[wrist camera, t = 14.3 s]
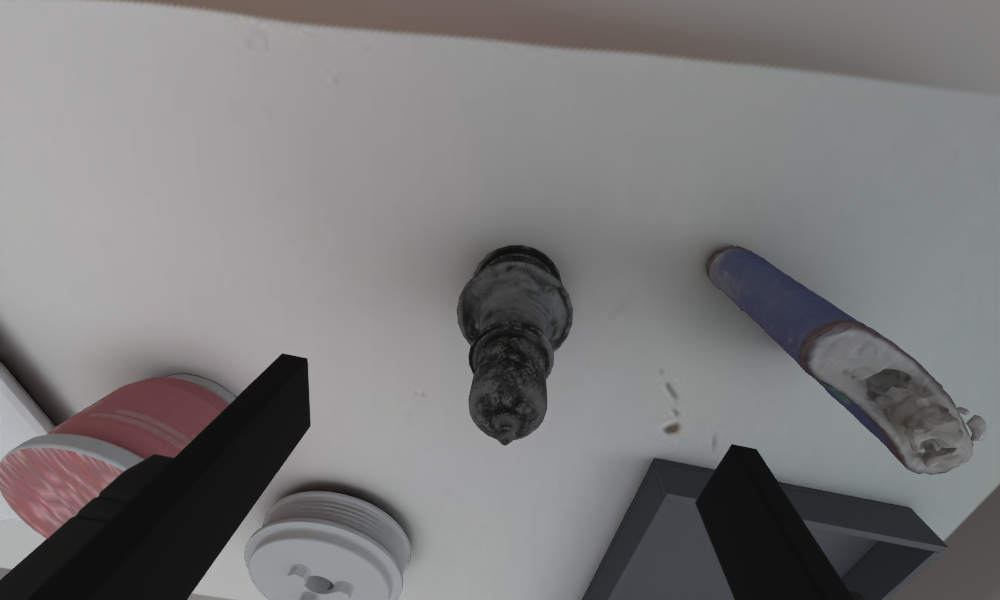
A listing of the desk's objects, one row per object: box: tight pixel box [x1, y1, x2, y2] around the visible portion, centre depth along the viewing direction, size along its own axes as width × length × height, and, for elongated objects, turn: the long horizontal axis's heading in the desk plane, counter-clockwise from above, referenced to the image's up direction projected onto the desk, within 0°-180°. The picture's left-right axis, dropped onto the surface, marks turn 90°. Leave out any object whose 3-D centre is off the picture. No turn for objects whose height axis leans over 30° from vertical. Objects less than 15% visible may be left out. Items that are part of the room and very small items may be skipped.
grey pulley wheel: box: [244, 491, 411, 600], centre depth 32 cm, size 13×13×5 cm
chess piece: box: [457, 246, 573, 445], centre depth 17 cm, size 6×6×12 cm
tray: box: [583, 459, 949, 600], centre depth 32 cm, size 23×19×3 cm
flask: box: [706, 246, 986, 475], centre depth 17 cm, size 9×3×11 cm, turn 50°
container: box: [0, 374, 236, 539], centre depth 26 cm, size 10×10×8 cm
